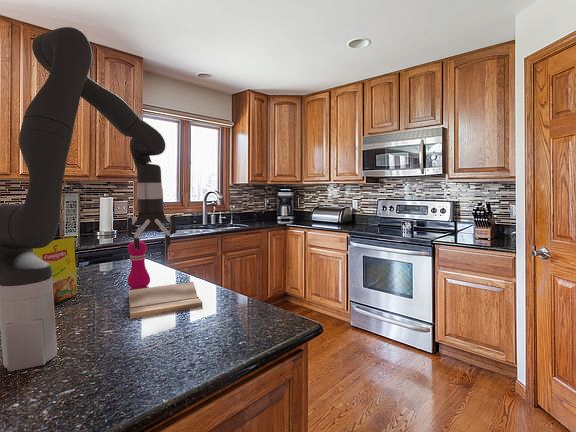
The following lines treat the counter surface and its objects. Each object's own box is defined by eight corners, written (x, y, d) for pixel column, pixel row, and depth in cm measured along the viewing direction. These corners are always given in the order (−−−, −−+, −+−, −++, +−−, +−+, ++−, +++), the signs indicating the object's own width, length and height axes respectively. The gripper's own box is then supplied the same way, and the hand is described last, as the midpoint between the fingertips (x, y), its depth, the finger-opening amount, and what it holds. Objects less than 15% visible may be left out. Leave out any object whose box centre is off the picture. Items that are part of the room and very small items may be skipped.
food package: (38, 309, 103) (33, 244, 102) (35, 309, 104) (30, 244, 102) (78, 294, 118) (75, 237, 117) (75, 293, 119) (72, 236, 117)
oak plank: (202, 306, 104) (202, 301, 104) (130, 318, 95) (130, 312, 95) (198, 301, 109) (198, 296, 109) (129, 313, 100) (129, 307, 99)
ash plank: (197, 300, 110) (197, 297, 109) (130, 311, 101) (130, 307, 100) (192, 285, 115) (193, 281, 114) (128, 293, 106) (128, 290, 105)
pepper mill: (123, 294, 117) (120, 237, 115) (141, 289, 123) (138, 234, 122) (137, 297, 114) (134, 238, 112) (155, 291, 120) (152, 235, 118)
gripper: (126, 198, 100) (129, 252, 102) (176, 197, 107) (178, 248, 109) (124, 197, 107) (127, 248, 108) (171, 196, 114) (173, 244, 115)
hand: (152, 248), depth 109 cm, fingers open, 8 cm apart
